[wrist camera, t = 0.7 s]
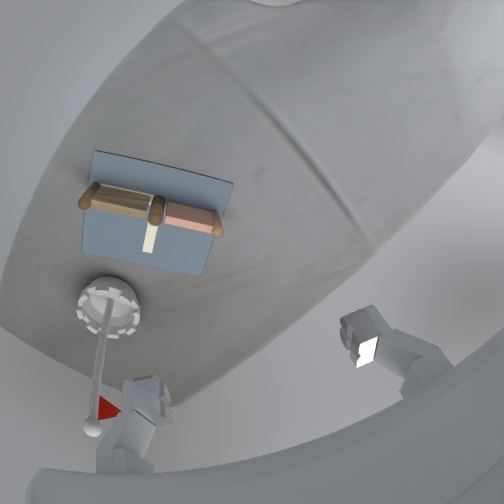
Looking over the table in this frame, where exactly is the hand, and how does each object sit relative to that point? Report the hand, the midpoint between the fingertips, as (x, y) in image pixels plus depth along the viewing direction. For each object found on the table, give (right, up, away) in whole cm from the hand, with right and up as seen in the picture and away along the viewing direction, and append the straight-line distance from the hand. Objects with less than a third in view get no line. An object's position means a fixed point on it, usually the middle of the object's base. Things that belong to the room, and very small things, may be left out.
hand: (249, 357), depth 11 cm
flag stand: (-29, -5, +41) cm, 50 cm away
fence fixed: (-20, +14, +31) cm, 39 cm away
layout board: (-17, +10, +34) cm, 39 cm away
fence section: (-10, +11, +34) cm, 37 cm away
